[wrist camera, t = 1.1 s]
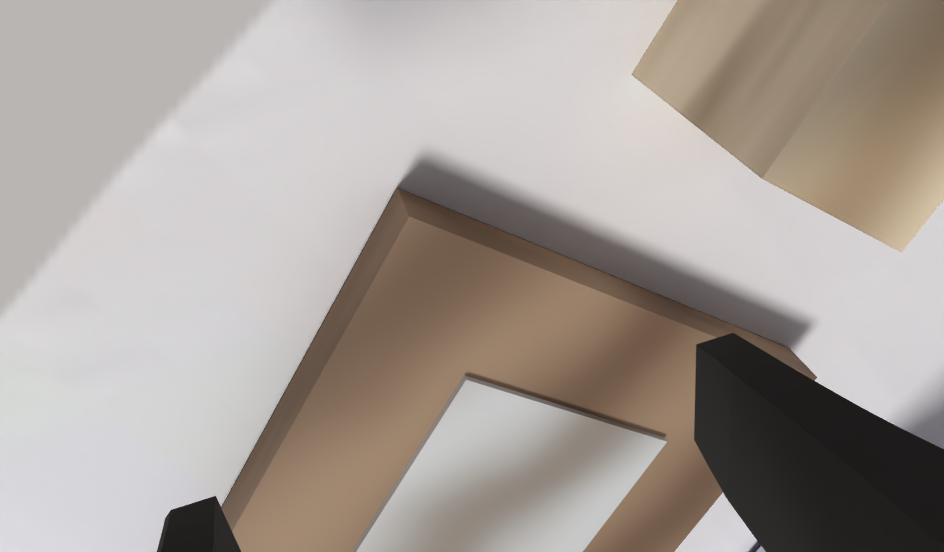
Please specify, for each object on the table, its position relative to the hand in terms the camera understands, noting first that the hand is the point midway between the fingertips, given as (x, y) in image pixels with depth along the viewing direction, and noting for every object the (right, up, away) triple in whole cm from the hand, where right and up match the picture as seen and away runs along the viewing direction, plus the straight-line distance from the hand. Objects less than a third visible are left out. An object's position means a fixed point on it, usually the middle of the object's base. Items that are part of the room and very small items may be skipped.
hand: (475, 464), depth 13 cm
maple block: (+7, +9, +9) cm, 14 cm away
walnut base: (+1, -3, +14) cm, 14 cm away
